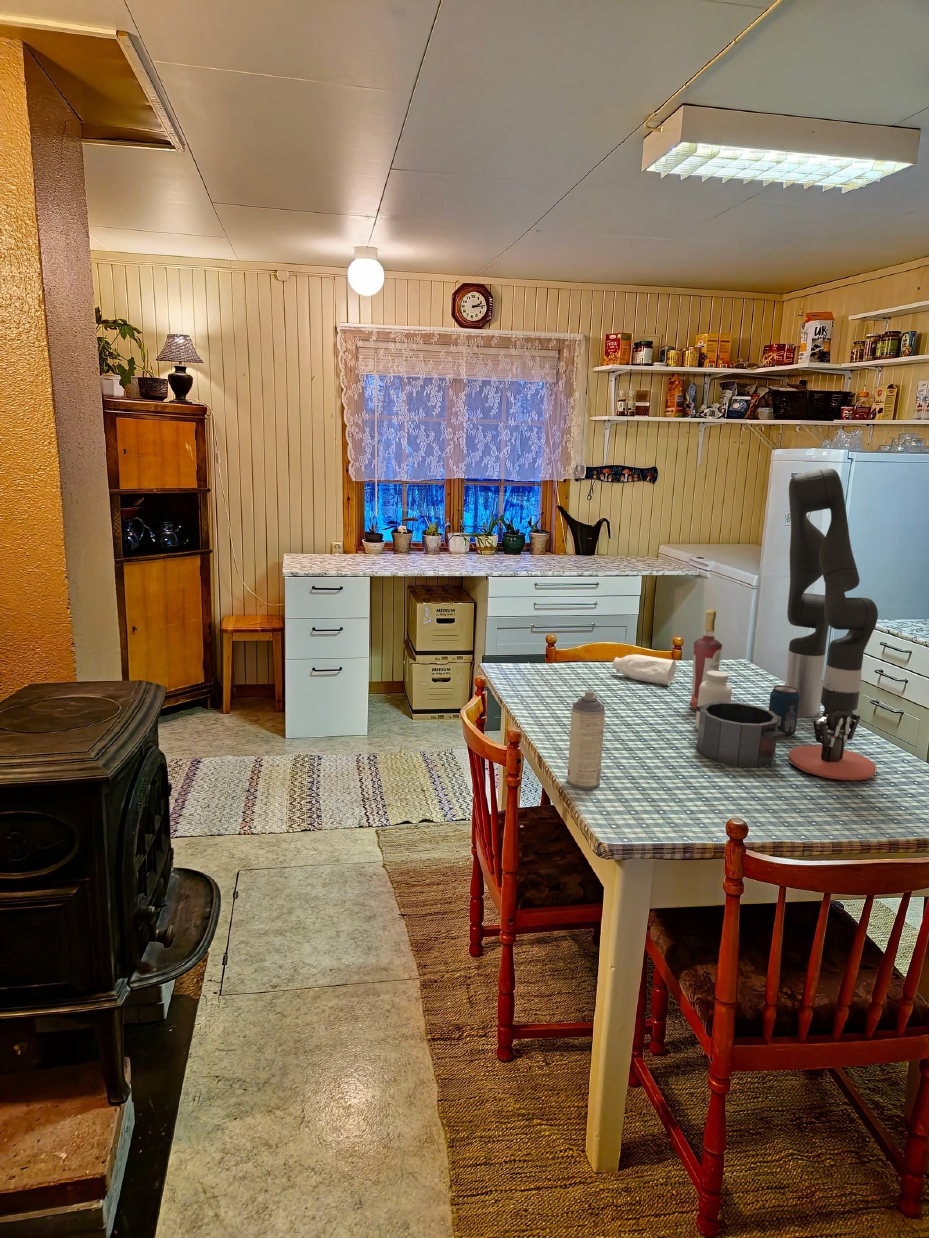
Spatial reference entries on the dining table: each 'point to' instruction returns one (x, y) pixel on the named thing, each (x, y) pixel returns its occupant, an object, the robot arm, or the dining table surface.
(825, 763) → the lid
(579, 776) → the aerosol can
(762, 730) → the pot
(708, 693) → the pill bottle
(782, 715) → the soda can
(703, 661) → the liquor
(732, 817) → the dining table surface
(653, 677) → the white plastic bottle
